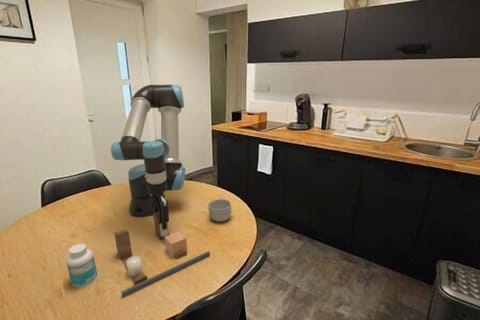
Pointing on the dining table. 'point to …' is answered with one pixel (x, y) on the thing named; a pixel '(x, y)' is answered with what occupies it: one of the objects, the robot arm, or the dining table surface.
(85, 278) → the pill bottle
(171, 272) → the bar
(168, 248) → the cube
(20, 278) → the dining table surface
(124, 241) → the brown l-shaped bracket
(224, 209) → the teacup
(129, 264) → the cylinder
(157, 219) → the brown l-shaped block
